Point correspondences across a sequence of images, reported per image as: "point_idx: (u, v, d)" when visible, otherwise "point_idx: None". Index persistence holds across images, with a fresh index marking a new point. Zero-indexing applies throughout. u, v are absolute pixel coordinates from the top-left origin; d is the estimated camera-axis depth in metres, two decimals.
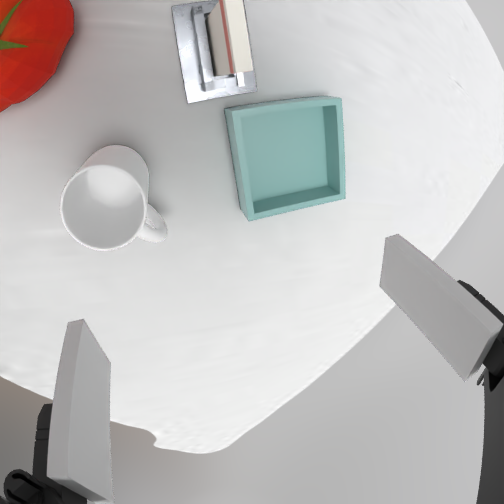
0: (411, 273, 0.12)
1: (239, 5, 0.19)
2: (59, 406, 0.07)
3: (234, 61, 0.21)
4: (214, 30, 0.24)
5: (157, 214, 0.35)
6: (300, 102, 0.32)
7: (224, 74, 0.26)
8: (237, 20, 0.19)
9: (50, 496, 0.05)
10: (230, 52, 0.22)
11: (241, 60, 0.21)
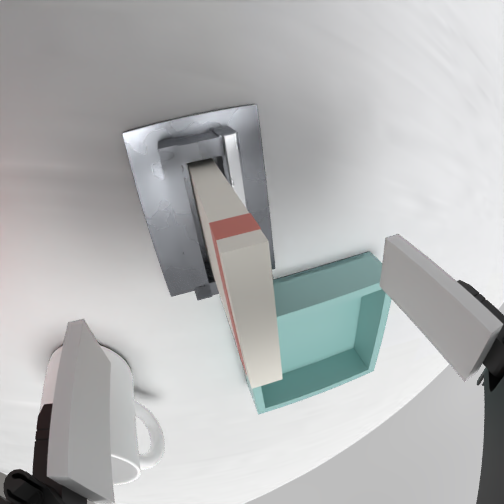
0: (411, 273, 0.12)
1: (262, 276, 0.10)
2: (59, 406, 0.07)
3: None
4: (203, 225, 0.15)
5: (149, 416, 0.26)
6: (339, 297, 0.23)
7: (227, 317, 0.17)
8: (256, 311, 0.10)
9: (50, 496, 0.05)
10: (238, 344, 0.13)
11: (262, 372, 0.12)
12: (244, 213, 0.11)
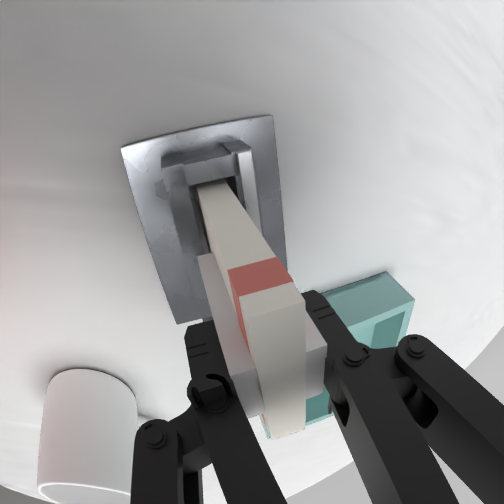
0: None
1: (294, 338, 0.08)
2: (222, 316, 0.10)
3: (269, 428, 0.10)
4: (215, 257, 0.13)
5: None
6: (357, 324, 0.21)
7: None
8: (284, 372, 0.08)
9: (237, 406, 0.07)
10: None
11: (284, 426, 0.10)
12: (269, 256, 0.09)
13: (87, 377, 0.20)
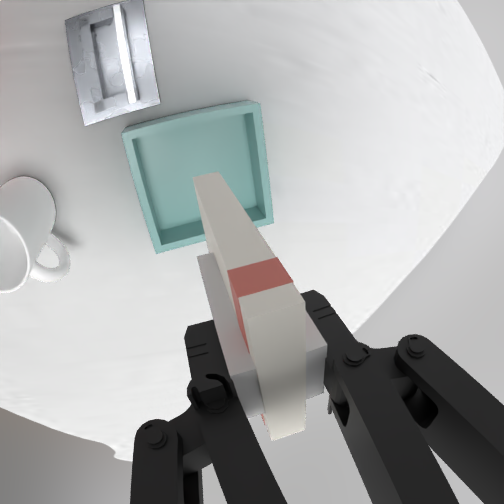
0: None
1: (294, 339, 0.08)
2: (221, 316, 0.10)
3: (269, 429, 0.10)
4: (215, 257, 0.13)
5: (62, 248, 0.29)
6: (204, 113, 0.26)
7: None
8: (284, 373, 0.08)
9: (237, 406, 0.07)
10: None
11: (284, 426, 0.10)
12: (269, 257, 0.09)
13: (23, 178, 0.26)
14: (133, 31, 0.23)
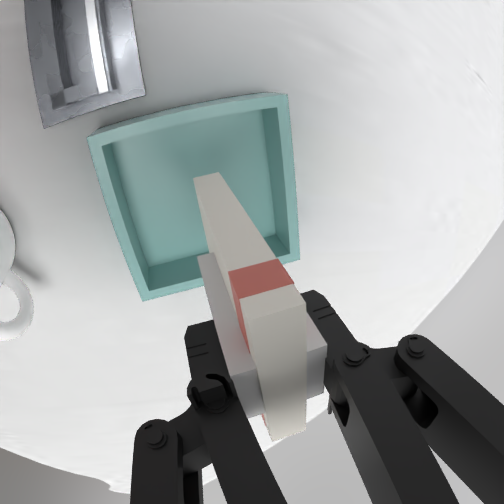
0: None
1: (294, 340, 0.08)
2: (221, 316, 0.10)
3: (269, 429, 0.10)
4: None
5: (23, 290, 0.21)
6: (207, 107, 0.18)
7: None
8: (284, 374, 0.08)
9: (237, 406, 0.07)
10: None
11: (284, 427, 0.10)
12: (269, 258, 0.09)
13: None
14: None
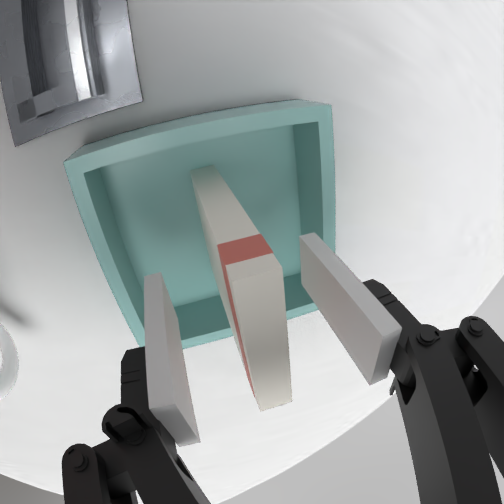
0: (318, 271, 0.13)
1: (274, 303, 0.09)
2: (153, 343, 0.09)
3: None
4: (209, 241, 0.15)
5: (5, 340, 0.16)
6: (227, 120, 0.13)
7: (233, 335, 0.16)
8: (267, 337, 0.10)
9: (154, 436, 0.07)
10: (247, 367, 0.12)
11: (271, 396, 0.12)
12: (254, 233, 0.10)
13: None
14: None
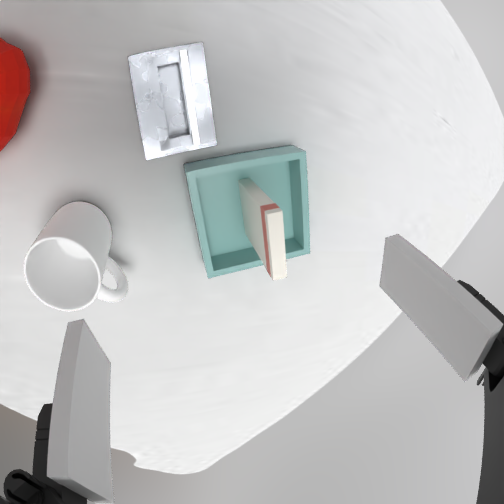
0: (410, 273, 0.12)
1: (279, 223, 0.28)
2: (59, 406, 0.07)
3: (272, 272, 0.30)
4: (250, 211, 0.33)
5: (119, 270, 0.35)
6: (259, 159, 0.32)
7: (259, 256, 0.35)
8: (277, 238, 0.28)
9: (50, 496, 0.05)
10: (268, 259, 0.30)
11: (278, 271, 0.30)
12: (272, 203, 0.29)
13: (82, 203, 0.32)
14: (194, 75, 0.29)
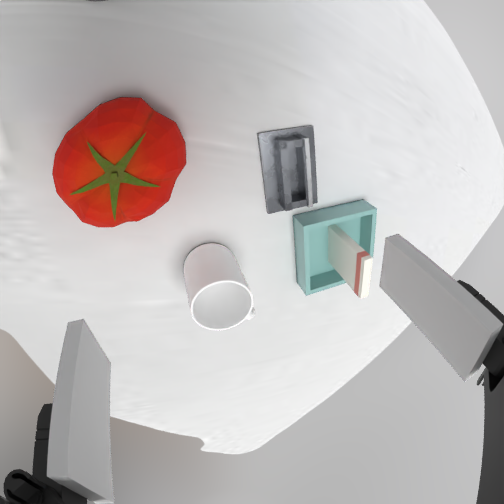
0: (410, 273, 0.12)
1: (370, 265, 0.42)
2: (59, 406, 0.07)
3: (360, 293, 0.45)
4: (342, 251, 0.48)
5: None
6: (349, 215, 0.46)
7: None
8: (367, 273, 0.43)
9: (50, 496, 0.05)
10: (358, 285, 0.45)
11: (364, 293, 0.45)
12: (363, 250, 0.43)
13: (217, 245, 0.46)
14: None
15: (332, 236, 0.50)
